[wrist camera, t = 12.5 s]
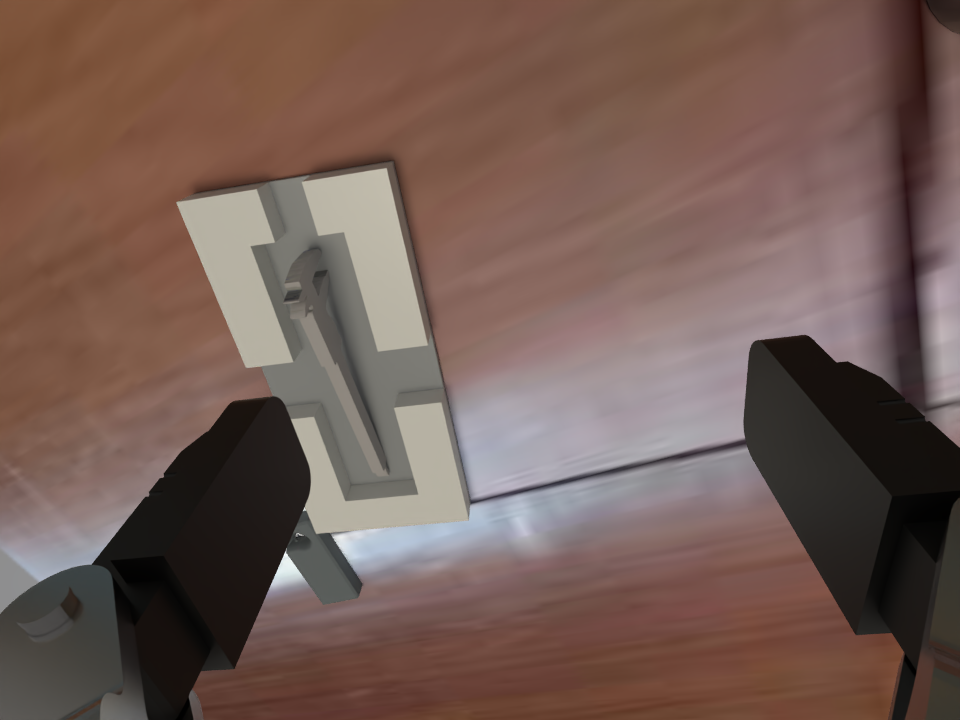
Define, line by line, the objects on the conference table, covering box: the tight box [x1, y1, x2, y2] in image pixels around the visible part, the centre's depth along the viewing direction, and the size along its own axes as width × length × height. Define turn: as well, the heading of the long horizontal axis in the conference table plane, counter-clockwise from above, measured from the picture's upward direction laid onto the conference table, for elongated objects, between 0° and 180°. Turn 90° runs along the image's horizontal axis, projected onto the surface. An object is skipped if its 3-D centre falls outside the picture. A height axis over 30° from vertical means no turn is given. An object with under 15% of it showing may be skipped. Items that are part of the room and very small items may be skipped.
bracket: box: [286, 511, 362, 605], centre depth 55 cm, size 4×11×2 cm, turn 19°
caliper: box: [283, 249, 390, 477], centre depth 42 cm, size 21×1×6 cm, turn 9°
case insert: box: [176, 161, 470, 534], centre depth 44 cm, size 14×30×2 cm, turn 9°
